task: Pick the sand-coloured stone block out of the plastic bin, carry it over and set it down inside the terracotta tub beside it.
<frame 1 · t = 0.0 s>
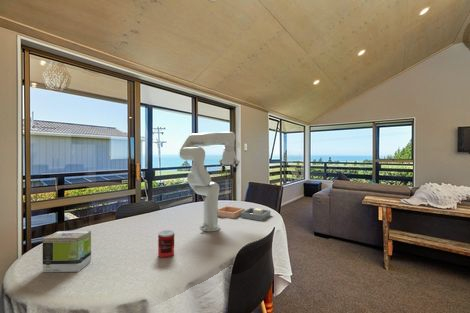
hand: (229, 171, 177), 37 cm above the table, tool pointing down, fingers open, 9 cm apart
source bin: (255, 217, 185), on the table
tea box: (67, 267, 103), on the table
stone block: (258, 216, 184), point 1 cm above the table, touching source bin
canned food: (166, 255, 116), on the table
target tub: (229, 215, 191), on the table
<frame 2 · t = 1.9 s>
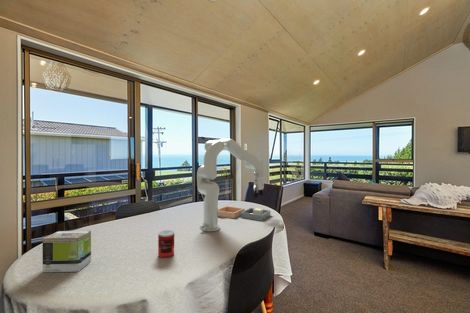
hand: (258, 196, 184), 17 cm above the table, tool pointing down, fingers open, 9 cm apart
nothing on the table moved.
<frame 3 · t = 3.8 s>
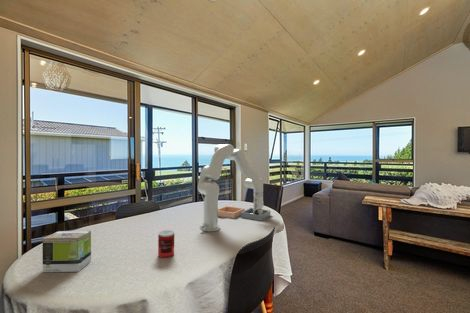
hand: (258, 216, 184), 1 cm above the table, tool pointing down, fingers closed on stone block, 6 cm apart
stone block: (258, 216, 184), point 1 cm above the table, touching gripper, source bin
everything else where it was.
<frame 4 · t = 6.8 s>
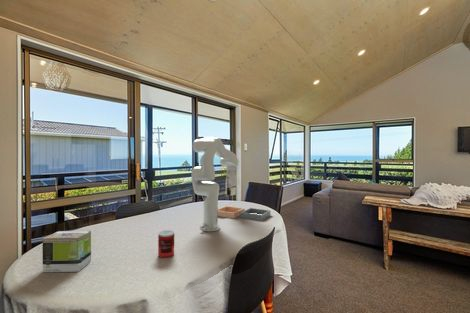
hand: (230, 194, 191), 17 cm above the table, tool pointing down, fingers closed on stone block, 6 cm apart
stone block: (230, 194, 191), point 17 cm above the table, touching gripper
everything else where it was.
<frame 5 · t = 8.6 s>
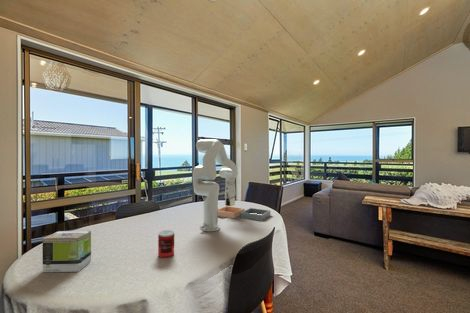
hand: (230, 204, 191), 9 cm above the table, tool pointing down, fingers closed on stone block, 6 cm apart
stone block: (230, 205, 191), point 8 cm above the table, touching gripper
everything else where it was.
when the fingers open (3 cm above the table, at t = 10.2 s): stone block drops 2 cm, resting on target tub.
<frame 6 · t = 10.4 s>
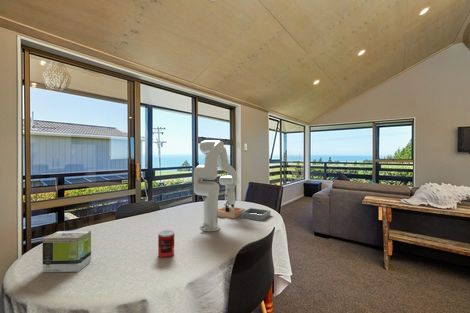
hand: (229, 211, 191), 3 cm above the table, tool pointing down, fingers open, 7 cm apart
stone block: (229, 214, 191), point 1 cm above the table, touching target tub
everything else where it was.
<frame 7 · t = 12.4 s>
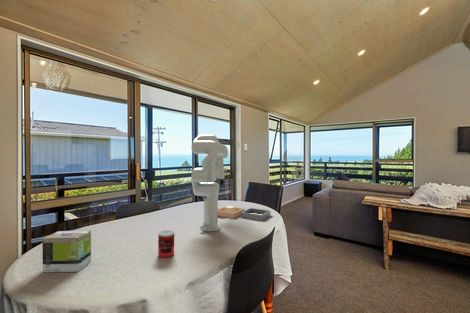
hand: (218, 185, 189), 25 cm above the table, tool pointing down, fingers open, 9 cm apart
nothing on the table moved.
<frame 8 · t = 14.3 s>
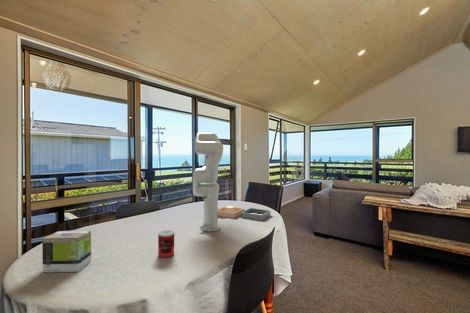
hand: (209, 178, 189), 30 cm above the table, tool pointing down, fingers open, 9 cm apart
nothing on the table moved.
at the end: stone block inside the target area on the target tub (0.1 cm from its centre), point 0.8 cm above the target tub's base; the gripper is holding nothing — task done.
